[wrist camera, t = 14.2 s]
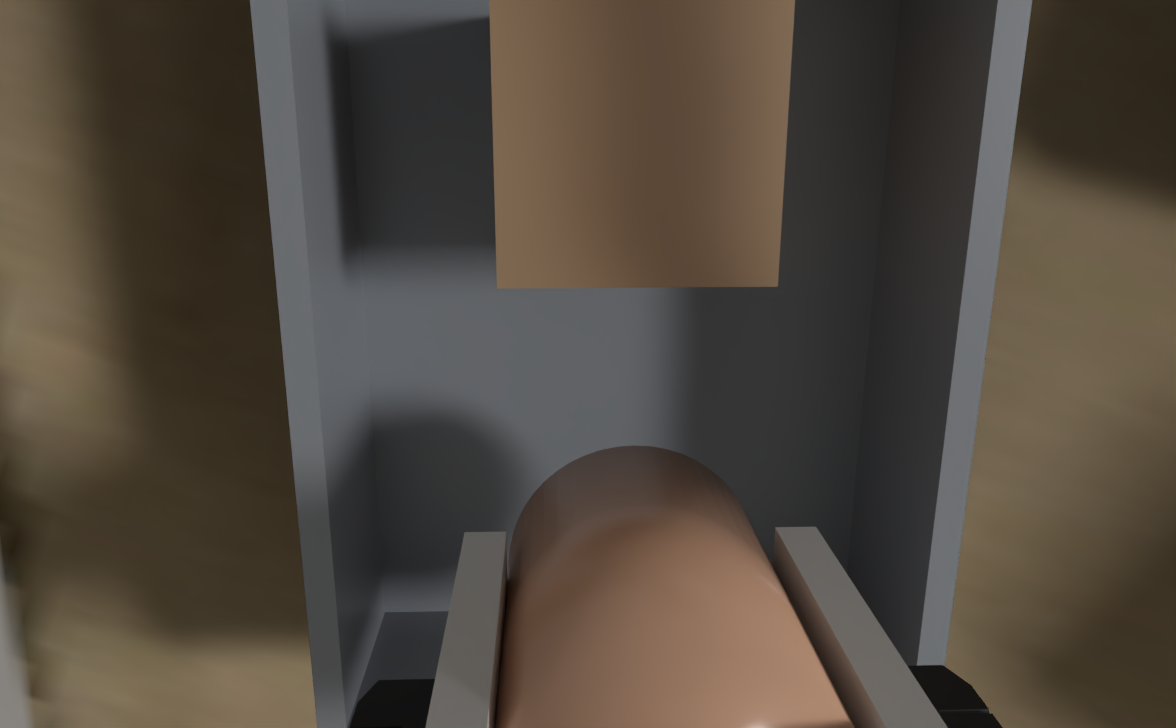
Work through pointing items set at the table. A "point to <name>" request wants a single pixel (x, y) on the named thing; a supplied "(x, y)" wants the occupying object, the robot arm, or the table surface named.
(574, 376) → the tote
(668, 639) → the glossy tan capsule
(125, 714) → the table surface
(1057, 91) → the table surface
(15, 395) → the table surface
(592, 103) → the walnut cube
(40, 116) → the table surface
